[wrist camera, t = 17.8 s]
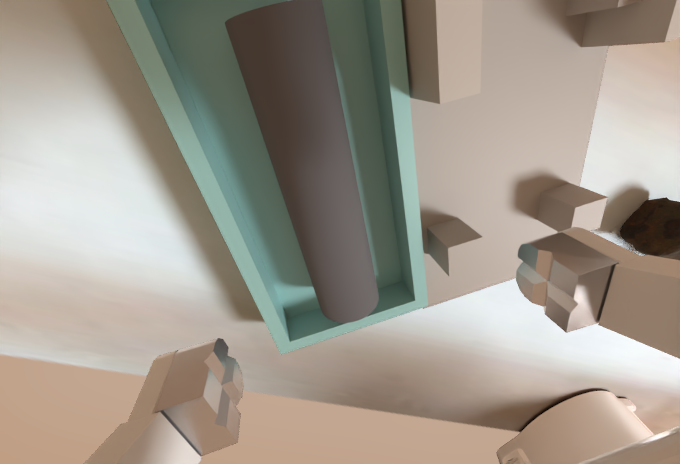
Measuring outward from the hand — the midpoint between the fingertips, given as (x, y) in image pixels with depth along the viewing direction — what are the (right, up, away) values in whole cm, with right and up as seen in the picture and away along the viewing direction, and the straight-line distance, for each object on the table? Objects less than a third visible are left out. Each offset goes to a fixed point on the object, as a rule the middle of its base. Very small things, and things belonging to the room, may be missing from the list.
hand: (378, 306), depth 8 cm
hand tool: (+29, +1, +19) cm, 35 cm away
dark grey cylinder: (-2, +5, +8) cm, 9 cm away
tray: (-3, +5, +8) cm, 10 cm away
